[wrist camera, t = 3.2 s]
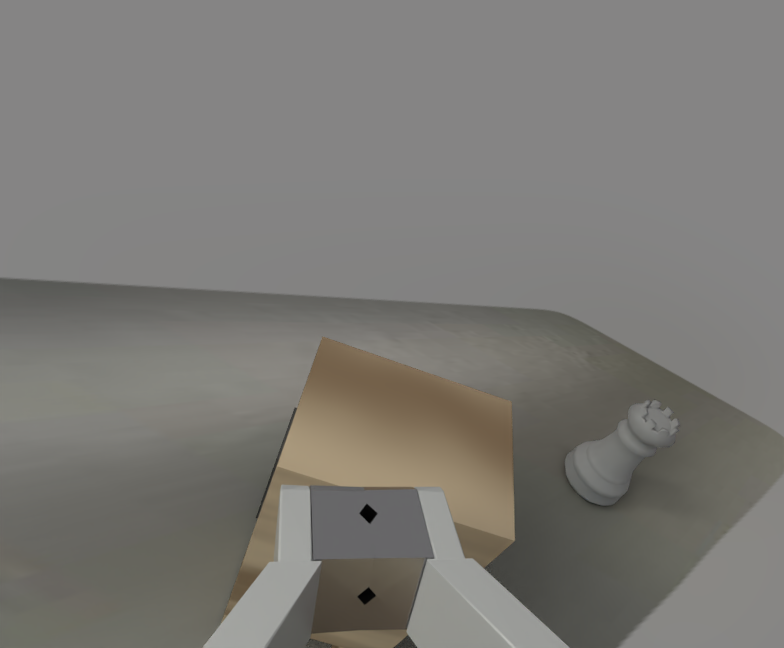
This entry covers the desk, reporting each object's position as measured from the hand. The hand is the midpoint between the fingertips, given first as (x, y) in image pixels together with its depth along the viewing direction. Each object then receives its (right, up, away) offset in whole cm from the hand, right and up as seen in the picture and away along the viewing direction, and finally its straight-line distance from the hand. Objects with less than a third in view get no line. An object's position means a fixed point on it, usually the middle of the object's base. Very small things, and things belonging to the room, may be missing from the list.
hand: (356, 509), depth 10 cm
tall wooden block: (-4, -11, +17) cm, 20 cm away
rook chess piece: (+15, -8, +29) cm, 33 cm away
